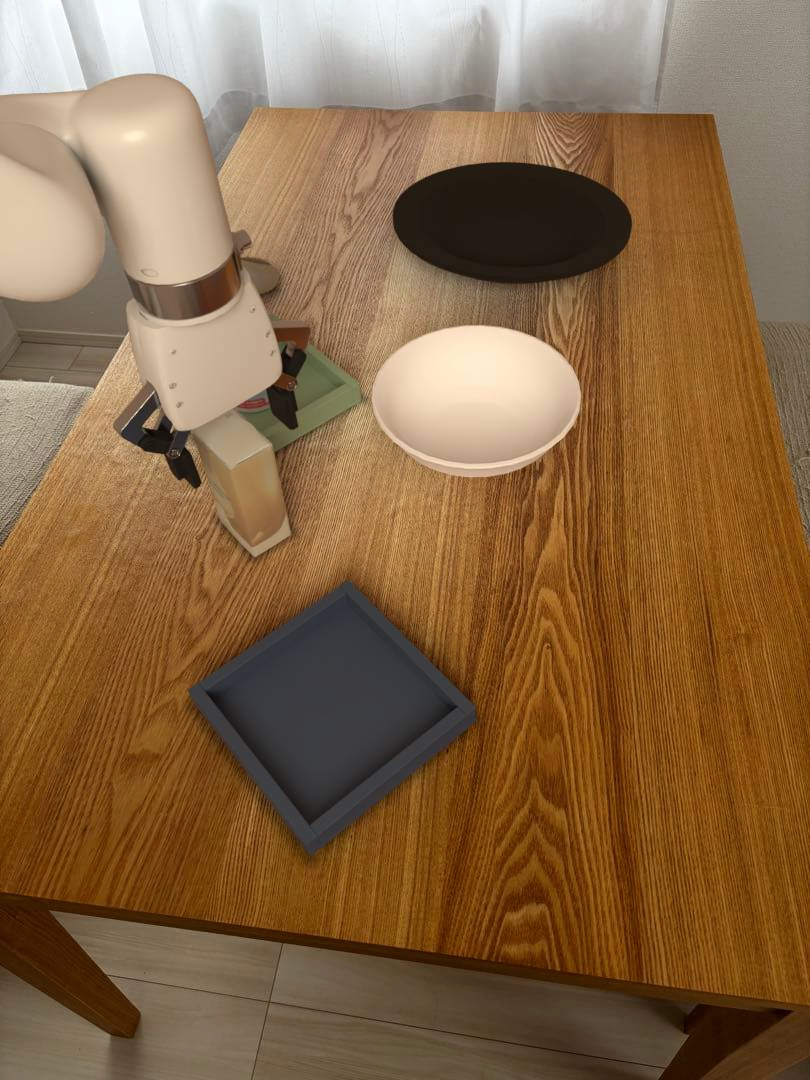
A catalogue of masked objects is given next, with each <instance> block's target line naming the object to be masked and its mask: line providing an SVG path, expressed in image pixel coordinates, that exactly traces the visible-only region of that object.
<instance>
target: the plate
mask: <svg viewBox="0 0 810 1080" xmlns="http://www.w3.org/2000/svg"><path fill="white" fill-rule="evenodd" d="M392 225H393V230H394V233H395V235H396V237H397V239H398V240H399V241H400V242H401V244H402V245H403V246H404V247H405V248H406V250H408V251H409V252H410V253H411V254H413V255H414V256H416V257H417V258H418V259H420V260H422V261H423V262H426V263H427V264H429V265H431V266H433V267H435V268H438V269H440V270H444V271H446V272H449V273H452V274H456V275H459V276H462V277H466V278H470V279H473V280H478V281H483V282H488V283H496V284H507V285H510V284H511V285H525V284H526V285H528V284H537V283H544V282H545V283H546V282H553V281H559V280H563V279H569V278H574V277H576V276H581V275H583V274H587V273H589V272H591V271H594V270H596V269H599V268H601V267H602V266H604V265H606V264H608V263H609V262H611V261H612V260H614V259H615V258H616V257H617V256H618V255H620V254H621V252H622V251H623V250H624V249H625V248H626V246H627V245H628V243H629V240H630V238H631V234H632V228H633V219H632V214H631V213H630V209H629V208H628V206H627V204H626V203H625V201H623V200H622V198H621V197H619V195H618V194H616V193H615V192H614V191H612V190H611V189H610V188H608V187H607V186H605V185H603V184H602V183H601V182H598V181H596V180H594V179H592V178H590V177H587V176H586V175H583V174H579V173H577V172H574V171H571V170H567V169H563V168H560V167H556V166H550V165H546V164H545V165H544V164H537V163H529V162H516V161H492V162H478V163H471V164H465V165H459V166H455V167H451V168H447V169H443V170H440V171H437V172H434V173H432V174H430V175H426V176H425V177H423V178H421V179H419V180H417V181H415V182H414V183H413V184H411V185H410V186H409V187H407V188H406V189H405V190H404V191H403V192H401V194H400V195H399V197H398V198H397V199H396V201H395V204H394V205H393V209H392Z"/></svg>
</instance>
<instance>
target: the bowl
mask: <svg viewBox="0 0 810 1080" xmlns="http://www.w3.org/2000/svg"><path fill="white" fill-rule="evenodd" d="M370 400H371V402H370V403H371V406H372V410H373V411H372V412H373V415H374V417H375V419H376V421H377V423H378V425H379V426H380V429H381V430H382V431H383V432H384V433H385V434H386V436H387V437H389V439H390V440H391V441H392V442H393V443H395V444H396V445H397V446H399V447H400V449H402V450H403V451H404V453H405V454H406V455H407V456H409V458H412V459H413V460H414V461H416V462H417V463H418V464H420V465H423V467H424V466H425V467H427V468H429V469H431V470H433V471H436V472H440V473H443V474H447V475H450V476H457V477H465V478H488V477H496V476H501V475H506V474H509V473H512V472H515V471H519V470H521V469H523V468H525V467H527V466H529V465H530V464H533V463H534V462H536V461H538V460H539V459H540V458H541V457H542V456H543V455H544V454H546V453H547V452H548V451H549V450H550V449H551V448H553V447H554V446H555V445H556V444H557V443H558V442H560V441H561V440H562V439H563V438H564V437H565V436H566V435H567V434H568V433H569V431H570V430H571V428H573V426H574V425H575V422H576V420H577V418H578V416H579V413H580V411H581V404H582V391H581V385H580V381H579V379H578V377H577V375H576V372H575V371H574V368H573V366H572V365H571V364H570V363H569V361H567V359H566V358H565V357H564V355H562V354H561V353H560V352H559V351H557V350H556V349H555V348H554V347H553V346H552V345H550V344H548V343H547V342H545V341H543V340H541V339H539V338H538V337H536V336H534V335H530V334H528V333H525V332H522V331H520V330H517V329H516V330H515V329H513V328H508V327H505V326H504V327H503V326H497V325H488V324H469V325H468V324H465V325H464V324H463V325H455V326H450V327H449V326H448V327H445V328H441V329H436V330H434V331H430V332H427V333H424V334H422V335H420V336H418V337H416V338H413V339H411V340H409V341H408V342H406V343H405V344H403V345H402V346H400V347H399V348H397V349H396V350H395V351H394V352H393V353H392V354H391V355H390V356H388V358H387V359H386V360H385V361H384V362H383V364H382V365H381V367H380V368H379V370H378V371H377V373H376V376H375V379H374V382H373V384H372V386H371V399H370Z"/></svg>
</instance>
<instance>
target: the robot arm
mask: <svg viewBox="0 0 810 1080" xmlns="http://www.w3.org/2000/svg"><path fill="white" fill-rule="evenodd" d="M205 125H206V124H205V121H204V117H203V113H202V111H201V108H200V103H199V102H198V100H197V98H196V97H195V95H194V93H193V92H192V90H191V89H189V88H188V87H187V86H186V84H184V83H183V82H181V81H179V80H177V79H175V78H173V77H171V76H168V75H165V74H159V73H134V74H126V75H122V76H118V77H115V78H111V79H109V80H106V81H103V82H101V83H99V84H97V85H95V86H93V87H92V88H89V89H82V90H72V91H71V90H69V91H54V92H30V93H10V94H0V297H1V298H5V299H6V298H7V299H11V300H15V301H20V302H30V303H45V302H55V301H59V300H63V299H67V298H69V297H71V296H73V295H75V294H77V293H79V292H80V291H82V289H84V288H85V287H86V286H88V285H89V284H90V283H91V282H92V281H93V279H94V278H95V276H97V274H98V272H99V270H100V268H101V266H102V264H103V260H104V255H105V251H106V229H105V224H104V221H105V223H106V226H107V228H108V231H109V234H110V237H111V239H112V242H113V245H114V247H115V250H116V253H117V255H118V259H119V261H120V263H121V267H122V269H123V271H124V274H125V277H126V280H127V282H128V285H129V288H130V290H131V293H132V296H133V298H132V299H130V300H129V301H127V303H126V305H125V313H126V322H127V329H128V335H129V340H130V345H131V350H132V354H133V356H134V361H135V364H136V368H137V371H138V375H139V378H140V382H141V385H142V387H141V389H140V390H139V392H137V394H136V395H135V396H134V398H132V400H131V401H130V402H129V403H128V405H127V406H126V407H125V408H124V409H123V411H122V412H121V413H120V414H118V415H119V416H117V418H116V419H115V420H114V421H113V423H112V428H113V429H114V431H115V432H117V434H118V435H119V436H120V437H121V438H122V439H123V440H125V441H127V442H129V443H130V444H132V445H134V446H136V447H138V448H140V449H141V450H142V451H143V452H146V453H151V454H158V455H162V456H163V455H164V458H165V460H166V463H167V465H168V468H169V470H170V472H171V473H172V475H173V476H174V477H175V479H176V480H178V482H179V481H180V482H181V481H182V480H184V479H185V481H186V482H187V483H188V484H189V485H190V486H191V487H192V488H193V489H194V490H197V489H198V488H200V487H201V486H202V485H203V482H202V479H201V477H200V474H199V471H198V468H197V466H196V463H195V461H194V458H193V455H192V453H191V452H190V450H189V449H188V448H187V447H186V444H187V441H188V440H189V437H190V435H191V430H192V429H195V428H198V427H200V426H202V425H204V424H206V423H208V422H209V421H211V420H213V419H215V418H217V417H218V416H220V415H222V414H224V413H225V412H227V411H229V410H231V409H233V408H234V407H236V406H238V405H239V404H241V403H243V402H245V401H246V400H248V399H250V398H252V397H253V396H255V395H257V394H258V393H260V392H262V391H263V390H265V389H266V392H267V396H268V400H269V404H270V408H271V411H272V414H273V415H274V416H275V417H276V418H277V419H279V420H280V421H281V422H282V423H283V424H284V425H285V426H286V427H287V428H288V429H290V430H291V429H292V430H294V429H296V428H298V427H299V426H298V421H297V417H296V411H298V407H297V402H296V398H295V393H294V390H295V389H296V388H297V386H298V383H299V382H298V379H296V378H297V376H298V374H299V372H300V370H301V368H302V366H303V364H304V362H305V360H306V357H307V356H306V353H305V350H306V349H307V347H308V343H310V340H311V339H310V338H311V336H312V328H311V327H310V326H309V324H307V323H305V322H304V321H302V320H301V319H285V320H282V319H281V320H280V321H270V318H269V316H268V315H269V313H268V311H267V308H266V305H265V304H264V302H263V299H262V297H261V295H259V292H258V290H257V288H256V286H255V284H254V282H253V280H252V278H251V276H250V275H249V273H248V271H247V270H246V269H245V268H244V267H243V266H242V263H241V259H240V258H242V257H241V256H242V255H243V254H244V253H245V251H247V250H248V249H250V248H252V247H253V243H252V239H251V236H250V234H249V233H248V231H246V230H245V229H244V228H242V229H239V230H237V231H231V226H230V222H229V217H228V214H227V209H226V206H225V201H224V198H223V194H222V193H223V192H222V190H221V189H222V188H221V185H220V182H219V177H218V174H217V169H216V166H215V165H216V164H215V161H214V157H213V153H212V149H211V145H210V141H209V138H208V133H207V129H206V126H205ZM103 219H104V220H103ZM283 341H287V343H288V344H287V345H286V346H285V347H284V349H283V351H282V353H281V354H280V350H279V346H278V343H277V342H283ZM157 410H159V412H158V416H157V419H156V421H155V423H154V426H153V428H148V427H143V426H144V424H145V423H146V422H147V421H148V420H149V419H150V417H151V416H152V415H153V414H154V413H155V411H157ZM172 428H173V429H172ZM171 431H172V432H171Z"/></svg>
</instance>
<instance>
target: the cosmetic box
mask: <svg viewBox="0 0 810 1080" xmlns="http://www.w3.org/2000/svg"><path fill="white" fill-rule="evenodd" d="M192 433H193V434H192ZM192 433H191V434H192V436H193V438H194V442H195V445H196V449H197V451H198V454H199V457H200V460H201V464H202V467H203V471H204V473H205V476H206V477H205V478H206V479H207V483H208V486H209V489H210V492H211V496H212V499H213V503H214V505H215V509H216V511H217V515H218V518H219V521H220V522H221V523H222V525H223V526H224V527H225V528H226V529H227V530H228V531H229V533H231V535H232V536H233V537H234V538H235V539H236V540H237V541H238V542H239V544H240V545H241V546H243V547H244V548H245V549H246V551H248V553H249V554H251V556H253V557H254V558H257V557H258V556H260V555H261V554H263V553H264V552H266V551H269V550H270V549H272V548H273V547H274V546H276V545H278V544H279V543H281V542H283V541H284V540H285V539H287V538H289V537H290V536H292V530H291V525H290V521H289V516H288V512H287V506H286V502H285V497H284V493H283V488H282V483H281V478H280V473H279V469H278V464H277V460H276V455H275V452H274V450H273V445H272V443H271V442H270V441H269V440H268V439H267V438H266V437H264V436H263V435H262V434H261V433H260V432H259V431H258V430H257V429H256V428H255V427H254V426H253V425H252V424H251V423H250V422H249V421H247V420H246V419H245V418H244V417H243V416H242V415H241V414H240V413H239V412H238V411H237V410H236V409H235V408H233V409H231V410H229V411H227V412H225V413H224V414H222V415H220V416H218V417H217V418H215V419H213V420H211V421H209V422H208V423H206V424H204V425H202V426H200V427H198V428H195V429H192Z"/></svg>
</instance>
